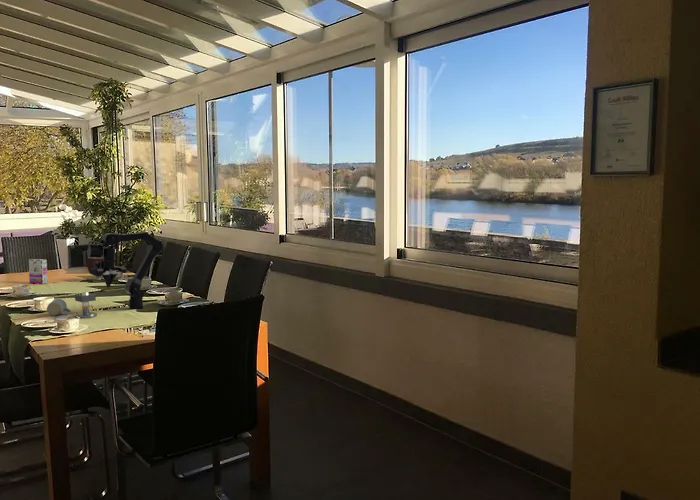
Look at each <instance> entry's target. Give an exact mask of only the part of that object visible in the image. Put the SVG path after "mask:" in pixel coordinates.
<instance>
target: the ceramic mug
mask: <svg viewBox="0 0 700 500" xmlns="http://www.w3.org/2000/svg"><path fill="white" fill-rule="evenodd" d="M46 311H47V313H48V314H49V315H50V316H52V317H55V316H59V315H66V316H69V315H71V313H72V310H71V309H70V308H68V307H67V302H66V301H65V300H63V299H61V298H55V299H53V300H52V301H51V302H50V303H48V305H47V307H46Z"/></svg>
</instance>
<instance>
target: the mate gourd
mask: <svg viewBox="0 0 700 500" xmlns="http://www.w3.org/2000/svg"><path fill="white" fill-rule="evenodd" d="M101 259H103V255H102V256H101V257H100V258H89V257H88V256H87V260H86V261H87V263H86V264H87V265H86V267H87V272H89V273H90V270H91V269H92V268H93V262H98V263H100V262H101ZM91 275H92V276H95V277H96V278H95V279H96V280H101V279H102V277H103V276H102V275H94V274H91Z"/></svg>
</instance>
